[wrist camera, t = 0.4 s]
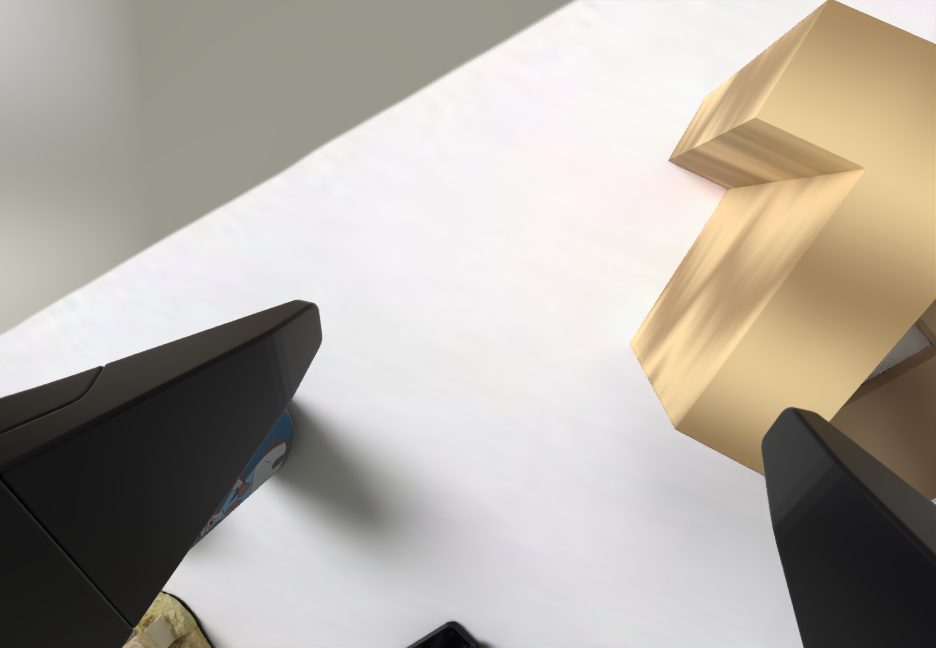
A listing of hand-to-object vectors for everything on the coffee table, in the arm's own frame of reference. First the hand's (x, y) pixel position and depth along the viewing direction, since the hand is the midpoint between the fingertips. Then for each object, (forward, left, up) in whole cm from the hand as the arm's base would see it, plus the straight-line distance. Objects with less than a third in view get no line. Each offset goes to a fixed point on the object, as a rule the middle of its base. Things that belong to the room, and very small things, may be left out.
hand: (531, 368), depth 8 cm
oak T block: (+8, -5, -16) cm, 19 cm away
